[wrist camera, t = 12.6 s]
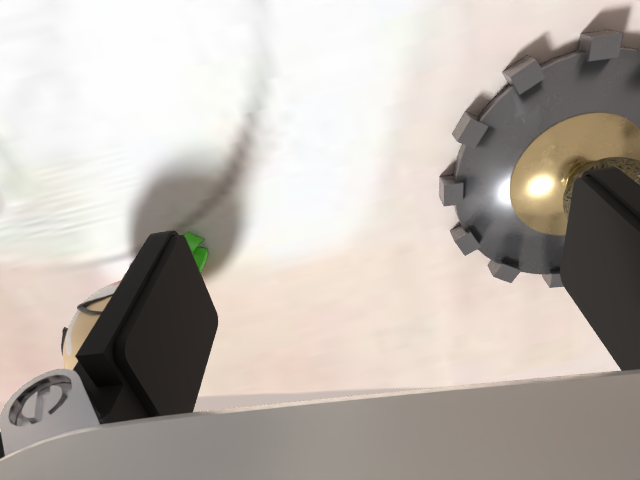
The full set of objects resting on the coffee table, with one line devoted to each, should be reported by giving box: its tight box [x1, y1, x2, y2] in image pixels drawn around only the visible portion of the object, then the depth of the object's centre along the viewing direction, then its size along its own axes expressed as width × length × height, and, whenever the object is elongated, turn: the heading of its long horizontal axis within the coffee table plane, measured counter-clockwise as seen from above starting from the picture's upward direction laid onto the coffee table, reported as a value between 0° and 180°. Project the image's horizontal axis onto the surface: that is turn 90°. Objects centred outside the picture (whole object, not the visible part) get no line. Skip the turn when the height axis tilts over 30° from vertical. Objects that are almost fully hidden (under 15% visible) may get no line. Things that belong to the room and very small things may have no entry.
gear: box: [439, 30, 640, 288], centre depth 37 cm, size 22×22×2 cm
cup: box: [563, 157, 640, 221], centre depth 33 cm, size 8×7×8 cm
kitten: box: [61, 232, 208, 370], centre depth 39 cm, size 15×10×15 cm, turn 141°
